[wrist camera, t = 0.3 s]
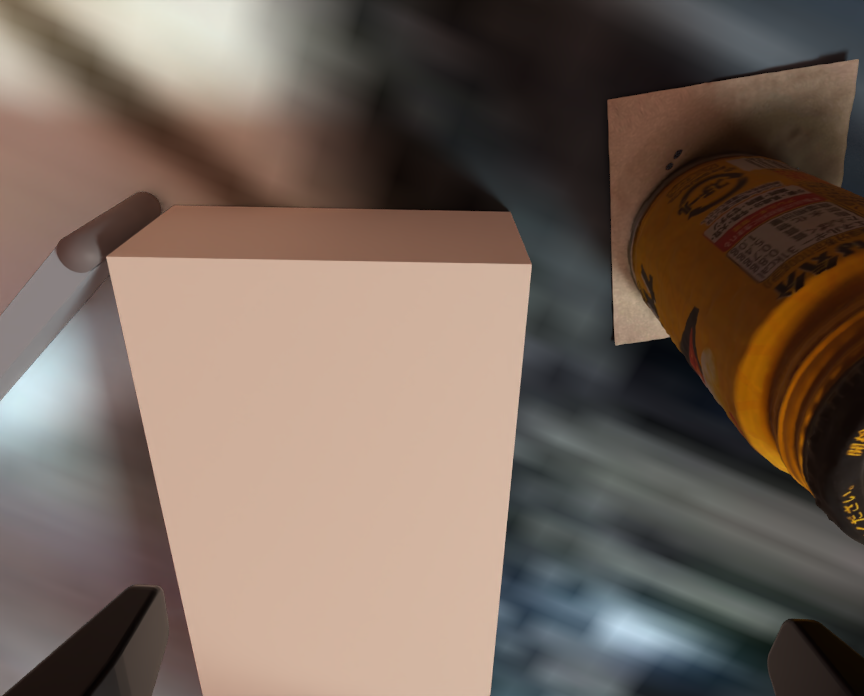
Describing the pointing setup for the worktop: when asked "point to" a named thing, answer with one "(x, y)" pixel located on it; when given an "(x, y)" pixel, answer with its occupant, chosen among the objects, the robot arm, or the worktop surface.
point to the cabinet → (331, 438)
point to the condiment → (752, 261)
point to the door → (66, 284)
